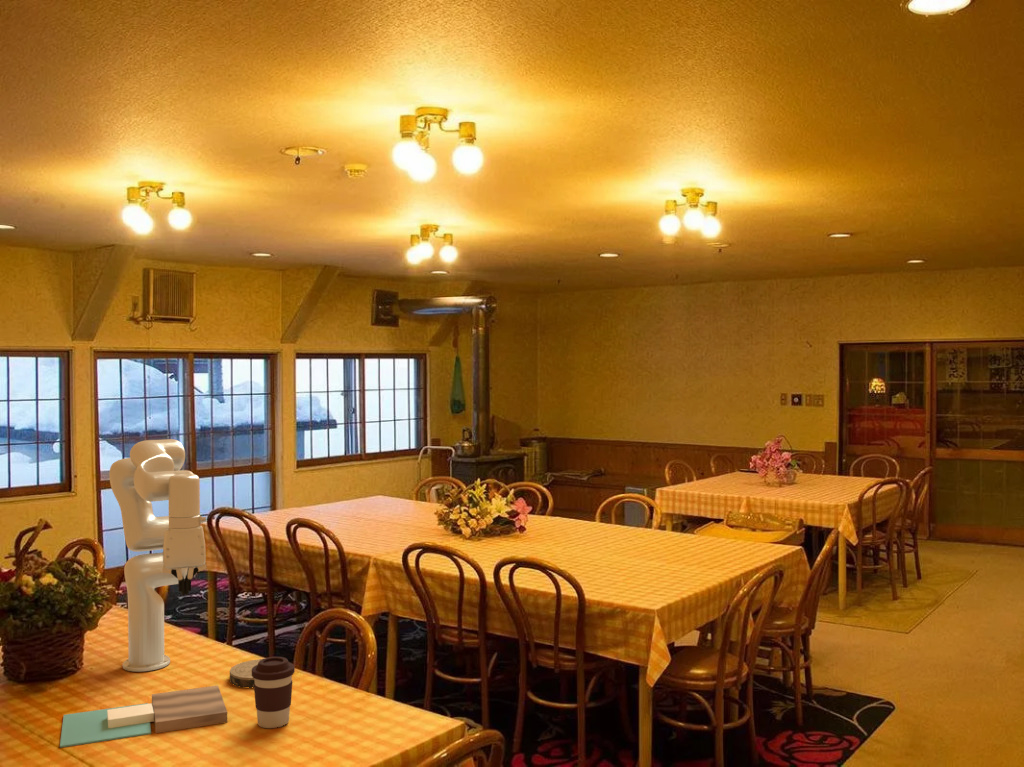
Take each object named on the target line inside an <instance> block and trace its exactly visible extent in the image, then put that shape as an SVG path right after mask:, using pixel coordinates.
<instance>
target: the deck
mask: <svg viewBox="0 0 1024 767" xmlns="http://www.w3.org/2000/svg"><path fill="white" fill-rule="evenodd" d="M222 695H223V694H222V692H221V690H220V688H219V685H218V684H217V685H212V686H211V685H210V686H204V687H203V686H202V687H195V688H188V689H182V690H174V691H173V690H172V691H166V692H159V693H152V694H151V703H152V707H153V711H154V721H153V723H154V729H155V734H158V733H165V732H166V733H167V732H173V731H179V730H185V729H192V728H193V729H194V728H200V727H204V726H211V725H212V724H213V725H217V724H218V723H219V724H224V722H226V723H228V710H227V707H226V704H225V702H224V698H223V696H222ZM219 724H218V725H219Z"/></svg>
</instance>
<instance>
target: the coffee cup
mask: <svg viewBox="0 0 1024 767" xmlns="http://www.w3.org/2000/svg"><path fill="white" fill-rule="evenodd" d="M261 659H262V660H260V661H259V662H258V665H256V666H254V667H253V668H252V677H253V678H254V680H255V683H254V688H253V691H254V703H255V710H256V716H257V718H256V719H257V720H256V721H257V725H258V726H259V727H260V728H264V729H277V727H278V728H281V727H284V726H286V725H287V724H288V723H289V722H290V710H291V705H292V693H293V675H294V674H295V671H296V670H295V667H296V666H295V664H294V663H292V662H290V661H289V660H288V658H286V657H284V656H269V657H265V658H261ZM285 724H286V725H285ZM283 725H284V726H283Z"/></svg>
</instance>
